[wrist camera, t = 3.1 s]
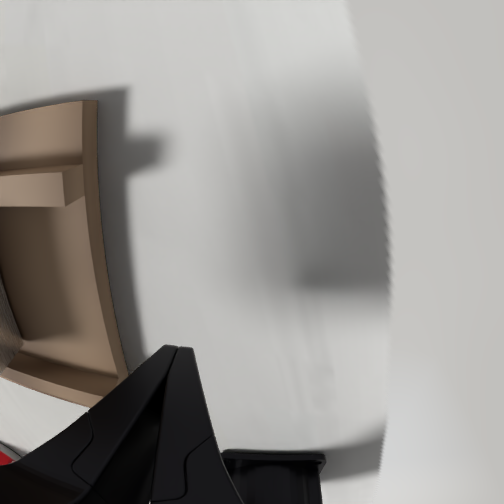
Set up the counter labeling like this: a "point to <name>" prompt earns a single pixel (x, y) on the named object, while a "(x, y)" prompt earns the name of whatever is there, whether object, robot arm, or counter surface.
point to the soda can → (7, 455)
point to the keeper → (7, 332)
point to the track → (57, 254)
